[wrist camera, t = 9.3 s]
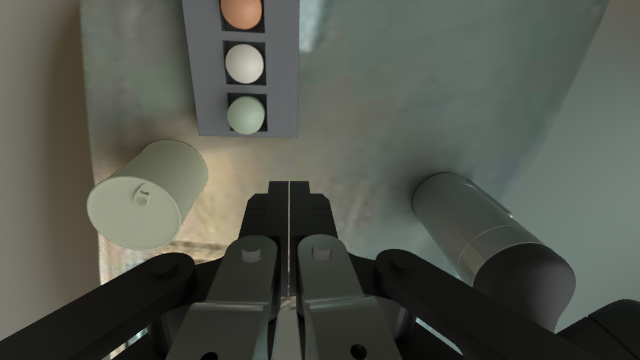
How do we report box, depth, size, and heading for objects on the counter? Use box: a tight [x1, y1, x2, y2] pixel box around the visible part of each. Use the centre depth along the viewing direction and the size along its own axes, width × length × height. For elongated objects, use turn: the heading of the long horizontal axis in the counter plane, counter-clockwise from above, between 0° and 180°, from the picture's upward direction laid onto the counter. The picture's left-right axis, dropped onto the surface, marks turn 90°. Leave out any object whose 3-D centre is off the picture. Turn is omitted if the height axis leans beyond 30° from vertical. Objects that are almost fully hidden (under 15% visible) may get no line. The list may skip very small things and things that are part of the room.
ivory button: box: [226, 44, 265, 83], centre depth 34 cm, size 4×4×3 cm
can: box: [87, 140, 208, 250], centre depth 36 cm, size 9×9×12 cm
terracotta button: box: [221, 0, 263, 30], centre depth 31 cm, size 4×4×3 cm
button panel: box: [182, 0, 300, 138], centre depth 34 cm, size 12×17×3 cm
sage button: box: [227, 95, 265, 134], centre depth 35 cm, size 4×4×3 cm
